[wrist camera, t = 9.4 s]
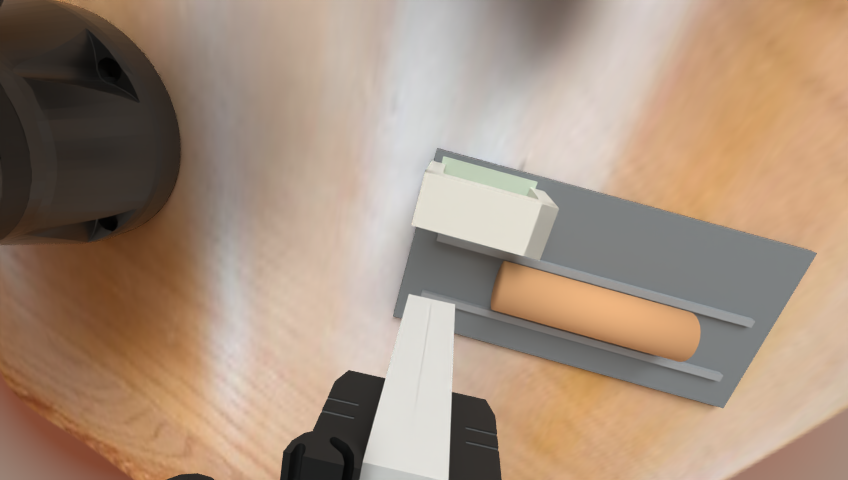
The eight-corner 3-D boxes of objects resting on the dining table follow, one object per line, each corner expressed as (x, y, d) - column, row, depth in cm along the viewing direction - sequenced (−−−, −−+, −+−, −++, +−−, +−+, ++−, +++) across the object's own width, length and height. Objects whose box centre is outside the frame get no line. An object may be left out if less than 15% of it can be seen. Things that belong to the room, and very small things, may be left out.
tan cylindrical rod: (488, 305, 28) (495, 313, 25) (500, 259, 28) (509, 261, 25) (662, 354, 28) (692, 368, 25) (674, 308, 28) (706, 316, 25)
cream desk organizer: (431, 160, 26) (424, 171, 22) (544, 191, 26) (559, 208, 22) (419, 205, 27) (411, 225, 23) (528, 235, 27) (539, 260, 23)
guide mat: (394, 312, 31) (392, 318, 30) (437, 148, 27) (436, 149, 26) (718, 402, 30) (726, 412, 29) (809, 249, 26) (822, 255, 26)
